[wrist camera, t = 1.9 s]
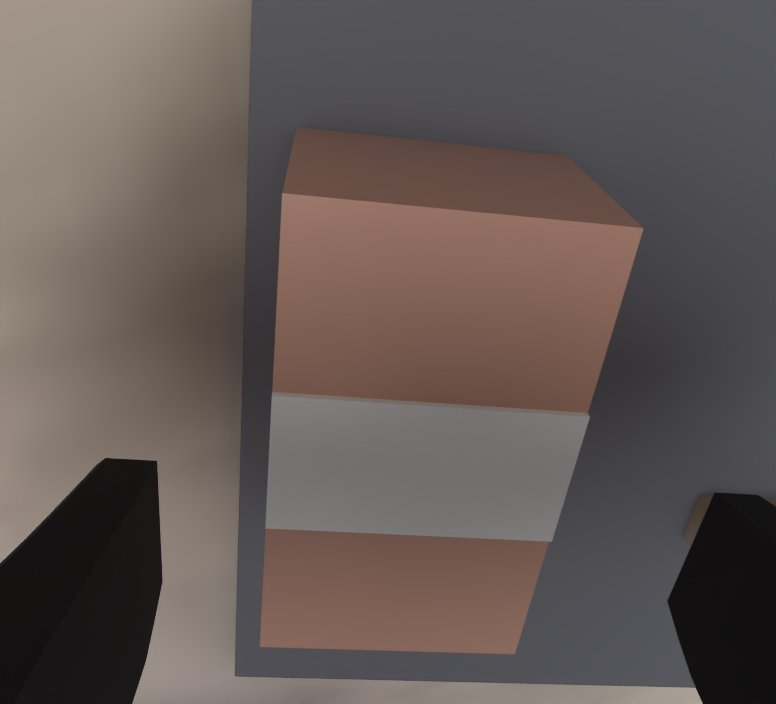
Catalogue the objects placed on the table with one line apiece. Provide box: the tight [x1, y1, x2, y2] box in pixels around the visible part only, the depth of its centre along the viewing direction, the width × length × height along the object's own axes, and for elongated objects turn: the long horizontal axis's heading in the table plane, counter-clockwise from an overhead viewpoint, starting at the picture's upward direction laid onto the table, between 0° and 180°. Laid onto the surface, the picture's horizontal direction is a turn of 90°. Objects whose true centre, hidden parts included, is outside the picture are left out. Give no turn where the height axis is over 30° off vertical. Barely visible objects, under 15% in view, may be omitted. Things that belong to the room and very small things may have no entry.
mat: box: [235, 0, 776, 688], centre depth 15 cm, size 19×21×1 cm
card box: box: [260, 127, 644, 654], centre depth 12 cm, size 8×4×4 cm, turn 173°
